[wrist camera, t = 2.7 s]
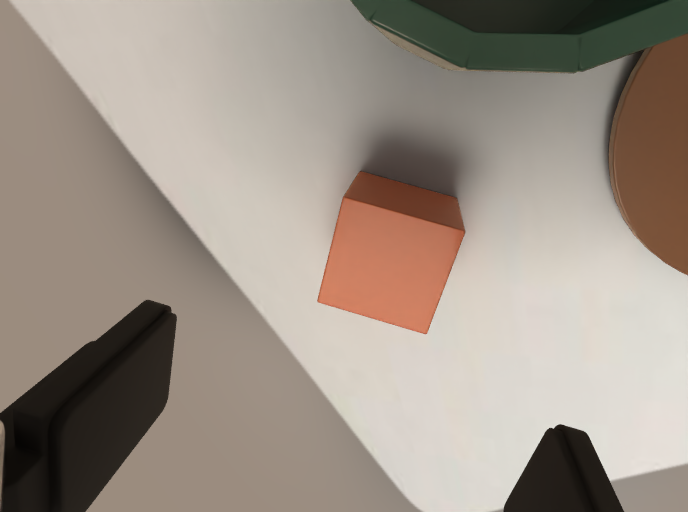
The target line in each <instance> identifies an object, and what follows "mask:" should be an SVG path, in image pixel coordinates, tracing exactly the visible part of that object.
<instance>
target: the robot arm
mask: <svg viewBox="0 0 688 512" xmlns="http://www.w3.org/2000/svg"><path fill="white" fill-rule="evenodd" d="M176 321H177V317H176V315H175V314H173V313H171V307H170V306H167V305H164V304H161V303H157V302H154V301H151V300H146V301H144V302H143V303H141V304H140V305H139V306H138V307H136V308H135V309H134V310H133V311H131V312H130V313H129V314H128V315H127V316H125V317H124V318H123V319H122V320H121V321H119V322H118V323H117V324H116V325H114V326H113V327H112V328H111V329H109V330H108V331H107V332H106V333H105V334H103V335H102V336H101V337H100V338H98V339H97V340H96V341H92V342H89V343H88V344H86V345H84V346H83V347H82V348H81V349H79V350H78V351H77V352H76V353H75V354H73V355H72V356H71V357H69V358H68V359H67V360H66V361H64V362H63V363H62V364H61V365H60V366H58V367H57V368H56V369H55V370H53V371H52V372H51V373H50V374H48V375H47V376H46V377H45V378H43V379H42V380H41V381H40V382H38V383H37V384H36V385H35V386H33V387H32V388H31V389H30V390H28V391H27V392H26V393H25V394H24V395H22V396H21V397H20V398H19V399H17V400H16V401H15V402H14V403H12V404H11V405H10V406H9V407H7V408H6V409H5V410H4V411H2V412H1V413H0V512H85V511H86V510H87V509H88V508H89V506H90V505H91V504H92V502H93V501H94V500H95V499H96V497H97V496H98V495H99V493H100V492H101V491H102V489H103V488H104V487H105V485H106V484H107V483H108V482H109V480H110V479H111V478H112V476H113V475H114V474H115V472H116V471H117V470H118V469H119V467H120V466H121V465H122V463H123V462H124V461H125V459H126V458H127V457H128V456H129V454H130V453H131V452H132V450H133V449H134V448H135V446H136V445H137V444H138V442H139V441H140V440H141V439H142V437H143V436H144V435H145V433H146V432H147V431H148V429H149V428H150V427H151V425H152V424H153V423H154V422H155V420H156V419H157V418H158V416H159V415H160V414H161V412H162V411H163V409H164V407H165V405H166V403H167V400H168V394H169V385H170V376H171V366H172V357H173V348H174V339H175V330H176ZM504 512H624V511H623V509H622V506H621V504H620V502H619V500H618V498H617V496H616V494H615V491H614V489H613V487H612V485H611V483H610V481H609V479H608V477H607V474H606V472H605V470H604V468H603V466H602V464H601V462H600V460H599V457H598V455H597V453H596V451H595V449H594V447H593V445H592V443H591V440H590V438H589V436H588V435H587V433H586V432H584V431H581V430H578V429H575V428H571V427H568V426H565V425H557V426H556V427H555V428H554V429H553V428H549V429H547V431H546V432H545V434H544V436H543V437H542V439H541V441H540V443H539V444H538V446H537V448H536V450H535V452H534V453H533V455H532V457H531V459H530V460H529V462H528V464H527V466H526V467H525V469H524V471H523V473H522V475H521V476H520V478H519V480H518V482H517V483H516V485H515V487H514V489H513V490H512V492H511V494H510V496H509V498H508V499H507V501H506V503H505V506H504Z"/></svg>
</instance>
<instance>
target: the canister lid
mask: <svg viewBox="0 0 688 512" xmlns="http://www.w3.org/2000/svg"><path fill="white" fill-rule="evenodd" d="M608 163H609V172H610V182H611V186H612V190H613V193H614V197H615V201H616V203H617V206H618V208H619V210H620V212H621V215H622V217H623V219H624V220H625V222H626V223H627V225H628V226H629V228H630V229H631V231H632V232H633V234H634V235H635V236H636V237H637V238H638V239H639V241H640V242H641V243H642V244H643V245H644V246H645V247H646V248H647V249H648V250H650V251H651V252H652V253H653V254H655V255H656V256H657V257H658V258H660V259H661V260H662V261H663V262H665V263H666V264H668V265H670V266H671V267H673V268H675V269H676V270H678V271H680V272H682V273H684V274H686V275H688V34H686V35H683V36H680V37H677V38H675V39H672V40H669V41H666V42H663V43H661V44H658V45H655V46H652V47H650V48H647V49H645V50H644V52H643V54H642V55H641V57H640V59H639V60H638V62H637V64H636V65H635V67H634V69H633V70H632V72H631V74H630V76H629V78H628V81H627V83H626V85H625V87H624V89H623V92H622V94H621V96H620V99H619V103H618V106H617V109H616V112H615V115H614V118H613V124H612V129H611V135H610V140H609V162H608Z"/></svg>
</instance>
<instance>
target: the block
mask: <svg viewBox="0 0 688 512" xmlns="http://www.w3.org/2000/svg"><path fill="white" fill-rule="evenodd" d="M464 234H465V228H464V224H463V220H462V216H461V212H460V208H459V204H458V200H457V198H455V197H452V196H448V195H444V194H441V193H437V192H434V191H430V190H426V189H423V188H419V187H416V186H412V185H409V184H405V183H401V182H398V181H394V180H391V179H387V178H383V177H380V176H376V175H373V174H369V173H366V172H362V171H360V172H359V173H358V175H357V176H356V178H355V179H354V181H353V182H352V184H351V186H350V187H349V189H348V190H347V192H346V193H345V195H344V196H343V199H342V203H341V207H340V211H339V215H338V219H337V223H336V227H335V232H334V236H333V240H332V244H331V248H330V252H329V256H328V260H327V264H326V268H325V272H324V276H323V280H322V284H321V288H320V292H319V296H318V300H317V301H318V302H319V303H323V304H326V305H329V306H333V307H336V308H339V309H343V310H346V311H349V312H353V313H356V314H359V315H363V316H366V317H370V318H373V319H376V320H380V321H383V322H386V323H390V324H393V325H396V326H400V327H403V328H406V329H410V330H413V331H416V332H420V333H423V334H427V332H428V329H429V326H430V324H431V321H432V319H433V316H434V313H435V311H436V308H437V305H438V303H439V300H440V297H441V295H442V292H443V289H444V287H445V284H446V281H447V279H448V276H449V274H450V271H451V268H452V266H453V263H454V260H455V258H456V255H457V252H458V250H459V247H460V244H461V242H462V239H463V237H464Z"/></svg>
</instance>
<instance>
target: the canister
mask: <svg viewBox="0 0 688 512" xmlns="http://www.w3.org/2000/svg"><path fill="white" fill-rule="evenodd" d="M350 1H351V2H352V3H353V4H354V6H355V7H356V8H357V9H358V10H359V12H360V13H361V14H362V15H363V16H364V18H365V19H366V20H367V21H368V22H369V23H370V24H372V25H373V26H374V27H375V28H376V29H377V30H379V31H380V32H381V33H382V34H383V35H385V36H386V37H387V38H388V39H389V40H390V41H392V42H393V43H394V44H396V45H397V46H399V47H401V48H403V49H405V50H407V51H409V52H411V53H413V54H415V55H417V56H419V57H421V58H423V59H425V60H427V61H429V62H431V63H433V64H435V65H437V66H439V67H441V68H443V69H447V70H463V71H495V72H538V73H576V72H583V71H586V70H588V69H591V68H594V67H597V66H599V65H602V64H605V63H608V62H611V61H613V60H616V59H619V58H622V57H624V56H627V55H630V54H633V53H636V52H638V51H641V50H644V49H647V48H650V47H652V46H655V45H658V44H661V43H663V42H666V41H669V40H672V39H675V38H677V37H680V36H683V35H686V34H688V0H350Z"/></svg>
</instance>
